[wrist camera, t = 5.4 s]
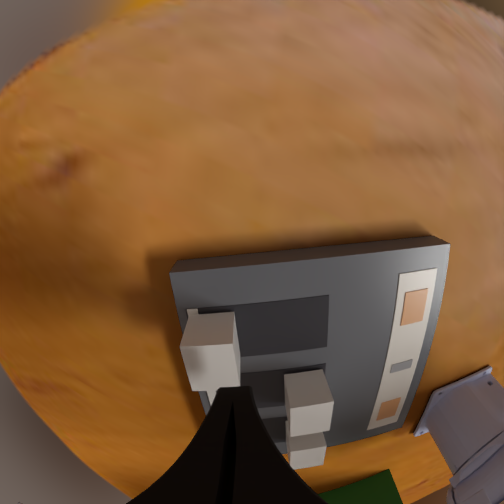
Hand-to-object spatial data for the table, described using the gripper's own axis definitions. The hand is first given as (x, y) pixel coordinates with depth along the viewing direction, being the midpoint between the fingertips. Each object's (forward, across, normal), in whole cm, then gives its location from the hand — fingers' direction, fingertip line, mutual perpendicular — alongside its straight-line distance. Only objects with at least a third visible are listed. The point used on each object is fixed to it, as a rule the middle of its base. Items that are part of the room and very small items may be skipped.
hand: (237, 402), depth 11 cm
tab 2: (+5, -4, +10) cm, 12 cm away
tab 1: (+5, +1, 0) cm, 5 cm away
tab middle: (+5, -4, +5) cm, 8 cm away
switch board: (+8, -5, +5) cm, 10 cm away
